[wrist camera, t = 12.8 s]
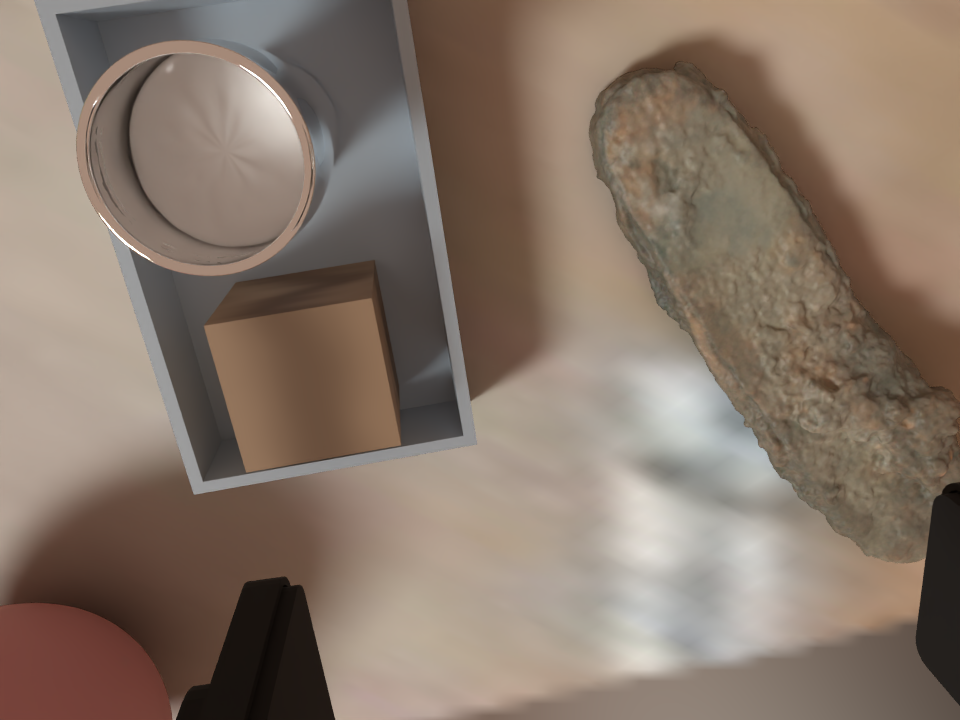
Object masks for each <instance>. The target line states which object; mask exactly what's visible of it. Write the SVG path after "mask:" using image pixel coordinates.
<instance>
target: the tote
mask: <svg viewBox="0 0 960 720" xmlns="http://www.w3.org/2000/svg"><path fill="white" fill-rule="evenodd" d="M34 1H35V4H36V8H37V11H38V14H39V17H40V20H41V23H42V26H43V29H44V32H45V35H46V39H47V42H48V45H49V48H50V51H51V54H52V57H53V60H54V63H55V66H56V70H57V73H58V76H59V79H60V82H61V85H62V88H63V91H64V94H65V97H66V100H67V104H68V107H69V110H70V113H71V116H72V119H73V122H74V125H75V128H76V131H77V128H78V122H79V118H80V114H81V111H82V108H83V105H84V103H85V100H86V98H87V96H88V94H89V92H90V91H91V89H92V87H93V86H94V84H95V83H96V82H97V80H98V79H99V78H100V77H101V75H102V74H103V73H104V72H105V71H106V70H107V69H108V68H109V67H110V66H111V65H113V64H114V63H115V62H116V61H118V60H119V59H120V58H122V57H124V56H125V55H127V54H129V53H130V52H132V51H134V50H137V49H139V48H141V47H144V46H147V45H150V44H154V43H158V42H163V41H171V40H184V39H191V38H224V39H231V40H237V41H241V42H245V43H248V44H251V45H253V46H256V47H259V48H261V49H263V50H266V51H268V52H270V53H272V54H274V55H275V56H277V57H279V58H280V59H282V60H283V61H285V62H287V63H290V64H292V65H295V66H297V67H299V68H301V69H302V70H304V71H305V72H307V73H308V74H310V75H311V76H312V77H313V78H314V79H315V80H316V81H317V82H318V83H319V84H320V85H321V86H322V87H323V89H324V90H325V91H326V93H327V94H328V96H329V98H330V100H331V102H332V104H333V106H334V109H335V112H336V115H337V119H338V126H339V140H338V146H337V150H336V154H335V156H334V164H333V171H332V176H331V180H330V183H329V186H328V190H327V192H326V195H325V197H324V199H323V202H322V204H321V205H320V207H319V209H318V210H317V212H316V213H315V215H314V216H313V218H312V219H311V220H310V221H309V223H308V224H307V225H306V226H305V228H304V229H303V230H302V231H301V232H300V233H299V234H298V235H297V236H296V237H294V238H293V239H292V240H291V241H290V242H289V243H288V244H287V245H286V246H285V247H284V248H283V249H282V250H281V251H280V252H278V253H277V254H276V255H275V256H273V257H272V258H270V259H269V260H267V261H266V262H264V263H262V264H260V265H258V266H256V267H254V268H251V269H249V270H246V271H243V272H239V273H235V274H230V275H223V276H196V275H189V274H184V273H179V272H176V271H172V270H169V269H166V268H164V267H161V266H159V265H157V264H154V263H152V262H150V261H148V260H147V259H145V258H143V257H142V256H140V255H138V254H137V253H135V252H134V251H133V250H131V249H130V248H129V247H127V246H126V245H125V244H124V243H122V242H121V241H120V240H119V239H118V238H117V237H116V236H115V235H114V234H113V233H112V232H111V231H110V230H109V228H108V231H109V234H110V237H111V240H112V243H113V246H114V249H115V252H116V255H117V258H118V262H119V265H120V268H121V271H122V274H123V277H124V280H125V283H126V286H127V289H128V292H129V296H130V299H131V302H132V305H133V308H134V311H135V314H136V317H137V320H138V323H139V327H140V330H141V333H142V336H143V339H144V342H145V345H146V348H147V351H148V354H149V358H150V361H151V364H152V367H153V370H154V373H155V376H156V379H157V382H158V385H159V388H160V392H161V395H162V398H163V401H164V404H165V407H166V410H167V413H168V416H169V419H170V423H171V426H172V429H173V432H174V435H175V438H176V441H177V444H178V447H179V450H180V454H181V457H182V460H183V463H184V466H185V469H186V472H187V475H188V478H189V481H190V484H191V488H192V491H193V494H194V495H195V494H201V493H207V492H212V491H218V490H224V489H229V488H235V487H240V486H246V485H252V484H257V483H263V482H269V481H274V480H280V479H285V478H291V477H297V476H302V475H308V474H314V473H319V472H325V471H330V470H336V469H342V468H347V467H353V466H359V465H364V464H370V463H375V462H381V461H387V460H392V459H398V458H404V457H409V456H415V455H420V454H426V453H432V452H437V451H443V450H449V449H454V448H460V447H465V446H471V445H477V440H476V434H475V427H474V421H473V415H472V408H471V402H470V396H469V389H468V383H467V377H466V370H465V364H464V358H463V351H462V345H461V339H460V332H459V326H458V320H457V313H456V307H455V301H454V294H453V288H452V282H451V275H450V269H449V263H448V256H447V250H446V244H445V237H444V231H443V225H442V218H441V212H440V206H439V199H438V193H437V187H436V180H435V174H434V168H433V161H432V155H431V149H430V142H429V136H428V130H427V123H426V117H425V111H424V104H423V98H422V92H421V85H420V79H419V73H418V66H417V60H416V54H415V47H414V41H413V35H412V28H411V22H410V16H409V9H408V3H407V0H34ZM371 260H375V264H376V269H377V274H378V280H379V285H380V290H381V295H382V300H383V305H384V310H385V316H386V321H387V326H388V331H389V336H390V341H391V346H392V352H393V357H394V362H395V367H396V372H397V377H398V382H399V396H400V426H401V445H400V446H394V447H389V448H383V449H377V450H372V451H366V452H360V453H355V454H349V455H343V456H338V457H332V458H326V459H321V460H315V461H309V462H304V463H298V464H292V465H287V466H281V467H275V468H270V469H264V470H258V471H253V472H247V473H246V470H245V467H244V463H243V460H242V457H241V453H240V450H239V446H238V443H237V439H236V436H235V432H234V429H233V425H232V422H231V419H230V415H229V412H228V408H227V405H226V401H225V398H224V394H223V391H222V388H221V384H220V381H219V377H218V374H217V370H216V367H215V363H214V360H213V356H212V353H211V350H210V346H209V343H208V339H207V336H206V332H205V329H204V325H205V323H206V322H207V321H208V319H209V318H210V317H211V315H212V314H213V313H214V311H215V310H216V309H217V307H218V306H219V304H220V303H221V302H222V300H223V299H224V298H225V296H226V295H227V294H228V292H229V291H230V289H231V288H232V287H233V285H234V284H235V283H236V282H242V281H248V280H254V279H260V278H266V277H272V276H279V275H285V274H291V273H297V272H303V271H309V270H315V269H322V268H328V267H334V266H340V265H346V264H352V263H358V262H365V261H371Z"/></svg>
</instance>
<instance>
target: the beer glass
mask: <svg viewBox="0 0 960 720" xmlns="http://www.w3.org/2000/svg"><path fill="white" fill-rule="evenodd" d="M338 140H339V126H338V119H337V115H336V112H335V109H334V106H333V104H332V102H331V100H330V98H329V96H328V94H327V93H326V91H325V90H324V89H323V87H322V86H321V85H320V84H319V83H318V82H317V81H316V80H315V79H314V78H313V77H312V76H311V75H310V74H308V73H307V72H305V71H304V70H302V69H301V68H299V67H297V66H295V65H292V64H290V63H287V62H285V61H283V60H282V59H280V58H279V57H277V56H275V55H274V54H272V53H270V52H268V51H266V50H263V49H261V48H259V47H256V46H253V45H251V44H248V43H245V42H241V41H237V40H231V39H224V38H191V39H184V40H171V41H163V42H158V43H154V44H150V45H147V46H144V47H141V48H139V49H137V50H134V51H132V52H130V53H129V54H127V55H125V56H124V57H122V58H120V59H119V60H118V61H116V62H115V63H114V64H113V65H111V66H110V67H109V68H108V69H107V70H106V71H105V72H104V73H103V74H102V75H101V77H100V78H99V79H98V80H97V82H96V83H95V84H94V86H93V87H92V89H91V91H90V92H89V94H88V96H87V98H86V100H85V103H84V105H83V108H82V111H81V114H80V118H79V122H78V128H77V136H76V152H77V162H78V168H79V172H80V176H81V180H82V183H83V186H84V188H85V191H86V193H87V196H88V198H89V200H90V202H91V204H92V206H93V207H94V209H95V211H96V212H97V214H98V215H99V217H100V218H101V220H102V221H103V222H104V224H105V225H106V226H107V227H108V228H109V230H110V231H111V232H112V233H113V234H114V235H115V236H116V237H117V238H118V239H119V240H120V241H121V242H122V243H124V244H125V245H126V246H127V247H129V248H130V249H131V250H133V251H134V252H135V253H137V254H138V255H140V256H142V257H143V258H145V259H147V260H148V261H150V262H152V263H154V264H157V265H159V266H161V267H164V268H166V269H169V270H172V271H176V272H179V273H184V274H189V275H196V276H223V275H230V274H235V273H239V272H243V271H246V270H249V269H251V268H254V267H256V266H258V265H260V264H262V263H264V262H266V261H267V260H269V259H270V258H272V257H273V256H275V255H276V254H277V253H278V252H280V251H281V250H282V249H283V248H284V247H285V246H286V245H287V244H288V243H289V242H290V241H291V240H292V239H293V238H294V237H296V236H297V235H298V234H299V233H300V232H301V231H302V230H303V229H304V228H305V226H306V225H307V224H308V223H309V221H310V220H311V219H312V218H313V216H314V215H315V213H316V212H317V210H318V209H319V207H320V205H321V204H322V202H323V199H324V197H325V195H326V192H327V190H328V186H329V183H330V180H331V176H332V171H333V164H334V156H335V154H336V150H337V146H338Z"/></svg>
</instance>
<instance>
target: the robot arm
mask: <svg viewBox="0 0 960 720" xmlns="http://www.w3.org/2000/svg"><path fill="white" fill-rule="evenodd" d="M916 646H917V650H918V653H919V655H920V657H921V659H922V661H923V662H924V664H925V665H926V667H927V668H928V669H929V670H930V671H931V672H932V674H933V675H934V676H935V677H936V678H937V680H938V681H939V682H940V683H941V684H942V685H943V687H944V688H945V689H946V690H947V691H948V692H949V694H950V695H951V696H952V697H953V698H954V700H955V701H956V702H957V703H958V704H959V705H960V482H956V483H950V484H948V485H946V486H945V488H944V489H943V491H942V494H941V495H939V496H936V498H935V499H934V501H933V505H932V513H931V521H930V529H929V536H928V544H927V552H926V560H925V568H924V576H923V584H922V592H921V600H920V607H919V615H918V623H917V631H916ZM176 720H335V717H334V713H333V709H332V705H331V701H330V696H329V692H328V688H327V684H326V680H325V676H324V671H323V667H322V663H321V659H320V655H319V651H318V647H317V642H316V638H315V634H314V630H313V626H312V622H311V617H310V613H309V609H308V605H307V601H306V597H305V593H304V589H303V587H302V586H301V585H295V586H290V583H289V581H288V579H287V578H286V577H278V578H271V579H264V580H256V581H249V582H246V583H245V584H244V586H243V588H242V591H241V594H240V597H239V600H238V603H237V606H236V609H235V612H234V615H233V618H232V621H231V624H230V627H229V630H228V633H227V636H226V639H225V642H224V645H223V648H222V651H221V654H220V657H219V660H218V662H217V665H216V668H215V671H214V674H213V677H212V680H211V683H210V684H206V685H199V686H193V687H192V688H191V689H190V690H189V691H188V692H187V694H186V696H185V698H184V700H183V702H182V705H181V707H180V710H179V713H178V715H177V718H176Z"/></svg>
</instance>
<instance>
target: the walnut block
mask: <svg viewBox="0 0 960 720" xmlns="http://www.w3.org/2000/svg"><path fill="white" fill-rule="evenodd" d="M204 329H205V332H206V336H207V339H208V343H209V346H210V350H211V353H212V356H213V360H214V363H215V367H216V370H217V374H218V377H219V381H220V384H221V388H222V391H223V394H224V398H225V401H226V405H227V408H228V412H229V415H230V419H231V422H232V425H233V429H234V432H235V436H236V439H237V443H238V446H239V450H240V453H241V457H242V460H243V463H244V467H245V470H246V473H247V472H253V471H258V470H264V469H270V468H275V467H281V466H287V465H292V464H298V463H304V462H309V461H315V460H321V459H326V458H332V457H338V456H343V455H349V454H355V453H360V452H366V451H372V450H377V449H383V448H389V447H394V446H400V445H401V426H400V396H399V382H398V377H397V372H396V367H395V362H394V357H393V352H392V346H391V341H390V336H389V331H388V326H387V321H386V316H385V310H384V305H383V300H382V295H381V290H380V285H379V280H378V274H377V269H376V264H375V260H371V261H365V262H358V263H352V264H346V265H340V266H334V267H328V268H322V269H315V270H309V271H303V272H297V273H291V274H285V275H279V276H272V277H266V278H260V279H254V280H248V281H242V282H236V283H235V284H234V285H233V287H232V288H231V289H230V291H229V292H228V294H227V295H226V296H225V298H224V299H223V300H222V302H221V303H220V304H219V306H218V307H217V309H216V310H215V311H214V313H213V314H212V315H211V317H210V318H209V319H208V321H207V322H206V323H205V325H204Z"/></svg>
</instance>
